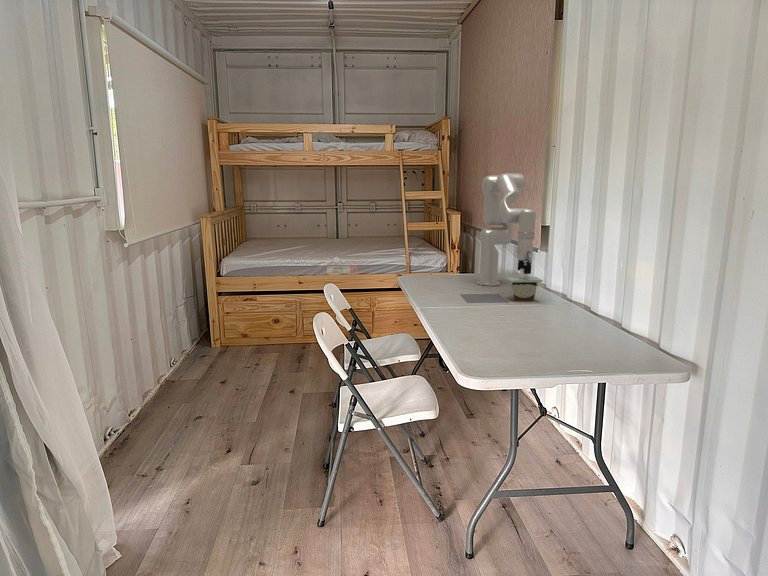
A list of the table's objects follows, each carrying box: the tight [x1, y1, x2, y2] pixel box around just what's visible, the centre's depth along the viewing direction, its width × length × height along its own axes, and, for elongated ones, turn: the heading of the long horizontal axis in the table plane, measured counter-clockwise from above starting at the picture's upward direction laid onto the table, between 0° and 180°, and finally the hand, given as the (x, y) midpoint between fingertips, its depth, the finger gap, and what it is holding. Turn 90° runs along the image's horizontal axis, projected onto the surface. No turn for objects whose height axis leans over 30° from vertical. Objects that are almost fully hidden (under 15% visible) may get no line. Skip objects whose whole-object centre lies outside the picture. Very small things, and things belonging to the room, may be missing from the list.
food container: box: [510, 282, 539, 302], centre depth 254 cm, size 12×6×10 cm, turn 84°
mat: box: [459, 293, 511, 304], centre depth 258 cm, size 20×20×1 cm
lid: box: [505, 269, 544, 283], centre depth 252 cm, size 9×15×6 cm, turn 93°
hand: (524, 271), depth 252 cm, fingers open, 9 cm apart
